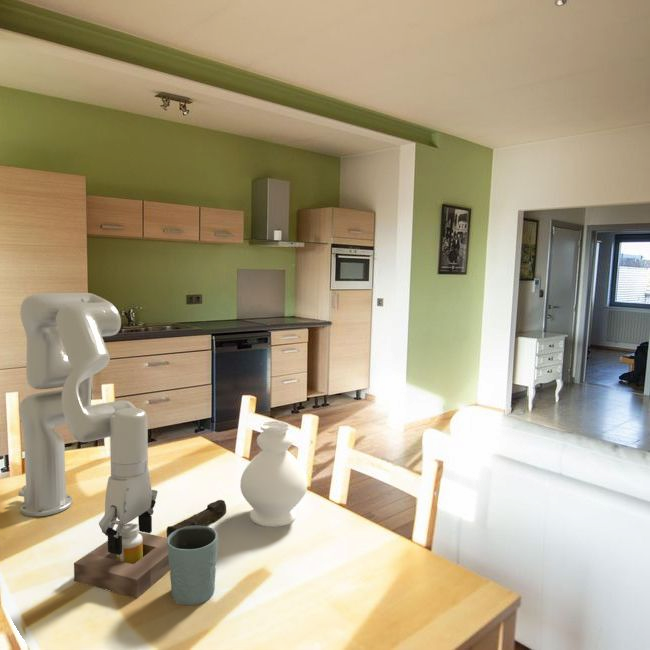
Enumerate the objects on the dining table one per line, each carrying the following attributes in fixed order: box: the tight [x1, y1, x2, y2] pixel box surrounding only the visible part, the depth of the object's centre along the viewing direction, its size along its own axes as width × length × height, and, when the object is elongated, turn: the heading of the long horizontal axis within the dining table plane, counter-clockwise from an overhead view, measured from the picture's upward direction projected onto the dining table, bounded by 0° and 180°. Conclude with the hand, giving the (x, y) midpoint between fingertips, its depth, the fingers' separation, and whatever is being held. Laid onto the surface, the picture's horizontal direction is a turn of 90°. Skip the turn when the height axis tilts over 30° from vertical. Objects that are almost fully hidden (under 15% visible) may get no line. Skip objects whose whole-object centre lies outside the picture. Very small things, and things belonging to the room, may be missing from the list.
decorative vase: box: [240, 420, 308, 528], centre depth 144 cm, size 18×18×25 cm
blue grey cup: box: [166, 525, 219, 606], centre depth 110 cm, size 10×10×12 cm
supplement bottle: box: [117, 522, 143, 564], centre depth 118 cm, size 5×5×10 cm
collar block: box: [73, 531, 170, 599], centre depth 118 cm, size 16×16×4 cm
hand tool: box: [166, 499, 227, 538], centre depth 138 cm, size 19×4×5 cm, turn 144°
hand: (130, 542), depth 118 cm, fingers open, 9 cm apart
